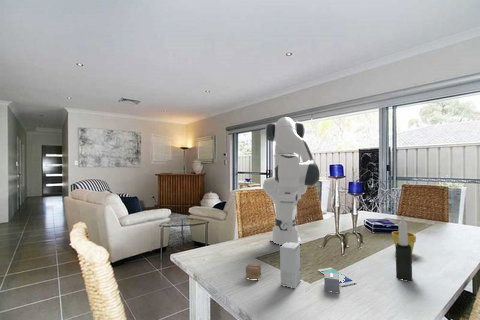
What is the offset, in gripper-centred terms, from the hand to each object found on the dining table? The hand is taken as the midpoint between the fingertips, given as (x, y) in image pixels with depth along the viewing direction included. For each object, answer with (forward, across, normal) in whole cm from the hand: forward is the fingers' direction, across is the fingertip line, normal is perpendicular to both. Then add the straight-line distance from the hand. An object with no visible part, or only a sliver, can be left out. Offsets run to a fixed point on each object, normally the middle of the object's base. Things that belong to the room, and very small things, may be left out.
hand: (290, 230), depth 95 cm
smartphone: (+21, -11, +17) cm, 29 cm away
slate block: (+21, 0, +15) cm, 26 cm away
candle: (+21, -18, +43) cm, 51 cm away
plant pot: (+20, -51, +52) cm, 76 cm away
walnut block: (+21, 0, -15) cm, 26 cm away
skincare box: (+21, 0, 0) cm, 21 cm away
